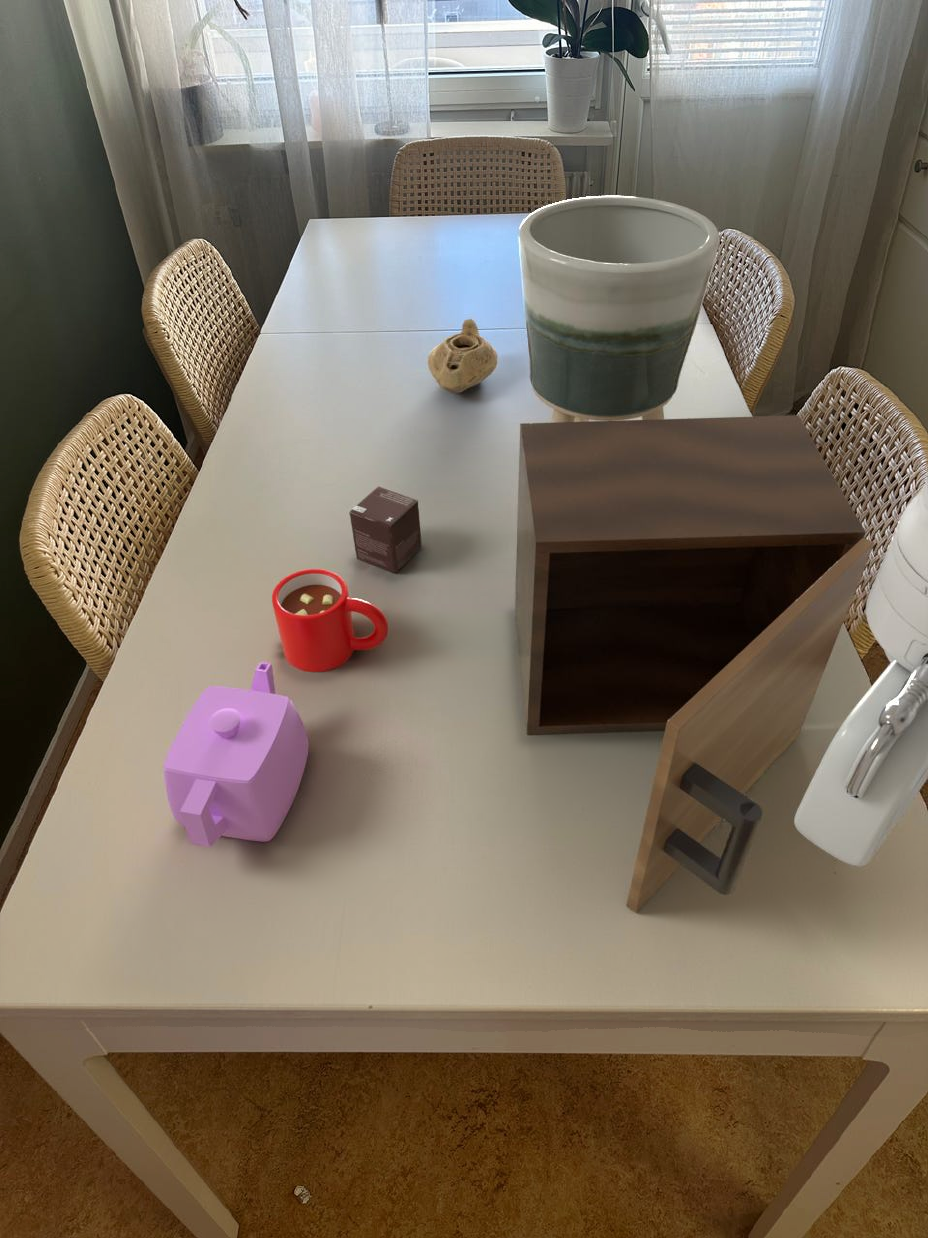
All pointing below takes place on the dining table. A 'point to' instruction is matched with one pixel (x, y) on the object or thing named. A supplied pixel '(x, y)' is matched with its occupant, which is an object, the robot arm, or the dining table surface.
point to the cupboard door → (739, 737)
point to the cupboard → (660, 558)
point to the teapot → (236, 762)
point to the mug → (321, 620)
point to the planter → (612, 302)
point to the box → (386, 529)
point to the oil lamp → (462, 359)
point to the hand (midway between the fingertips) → (883, 785)
